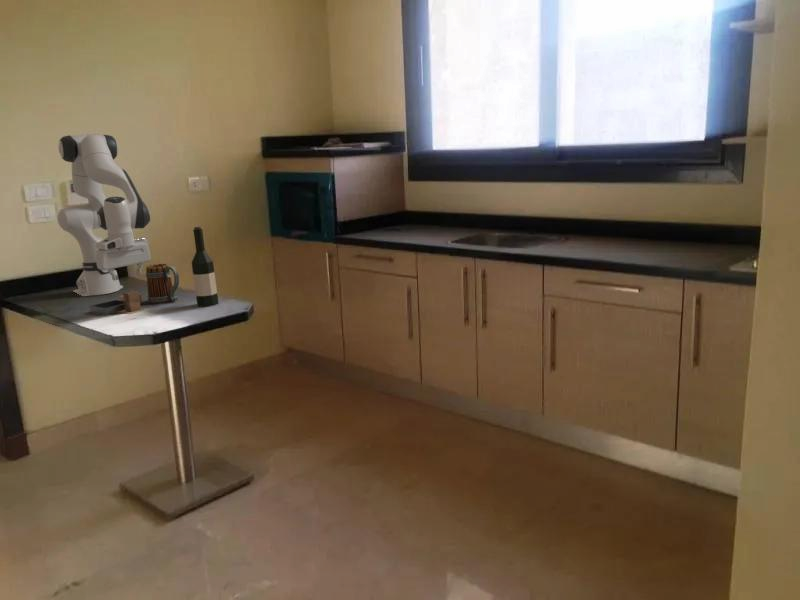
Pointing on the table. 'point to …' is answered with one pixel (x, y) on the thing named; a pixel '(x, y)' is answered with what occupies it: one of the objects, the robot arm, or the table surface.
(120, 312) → the light wooden board
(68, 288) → the table surface
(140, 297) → the terracotta pot
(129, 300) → the walnut block
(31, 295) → the table surface
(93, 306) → the tin
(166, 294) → the mug
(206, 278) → the wine bottle
